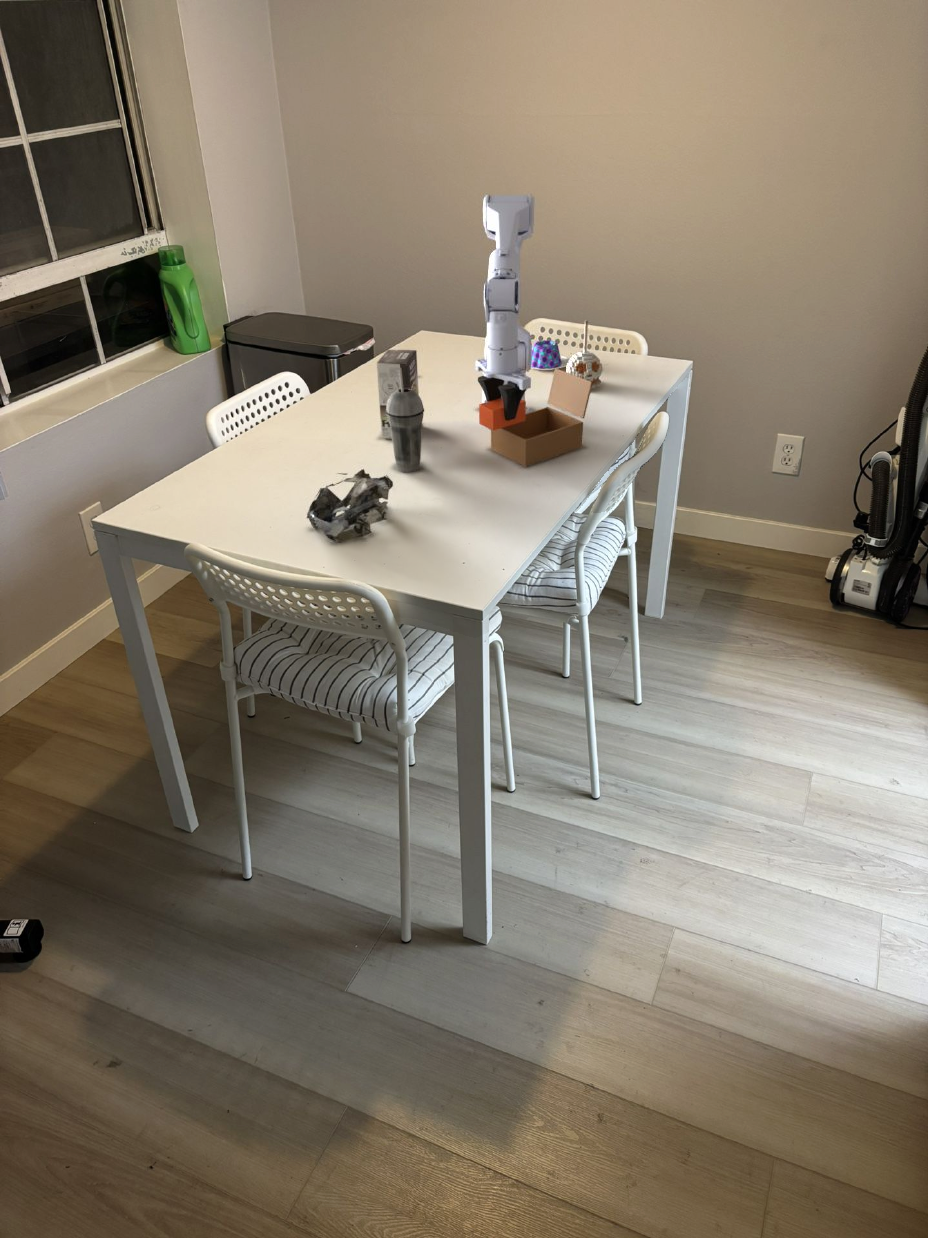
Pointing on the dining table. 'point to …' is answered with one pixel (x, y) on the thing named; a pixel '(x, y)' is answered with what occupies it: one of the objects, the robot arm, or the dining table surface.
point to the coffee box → (395, 380)
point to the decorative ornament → (585, 363)
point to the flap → (570, 393)
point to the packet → (499, 414)
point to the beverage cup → (406, 427)
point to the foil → (351, 507)
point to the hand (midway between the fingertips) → (502, 415)
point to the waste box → (538, 437)
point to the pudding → (547, 356)
